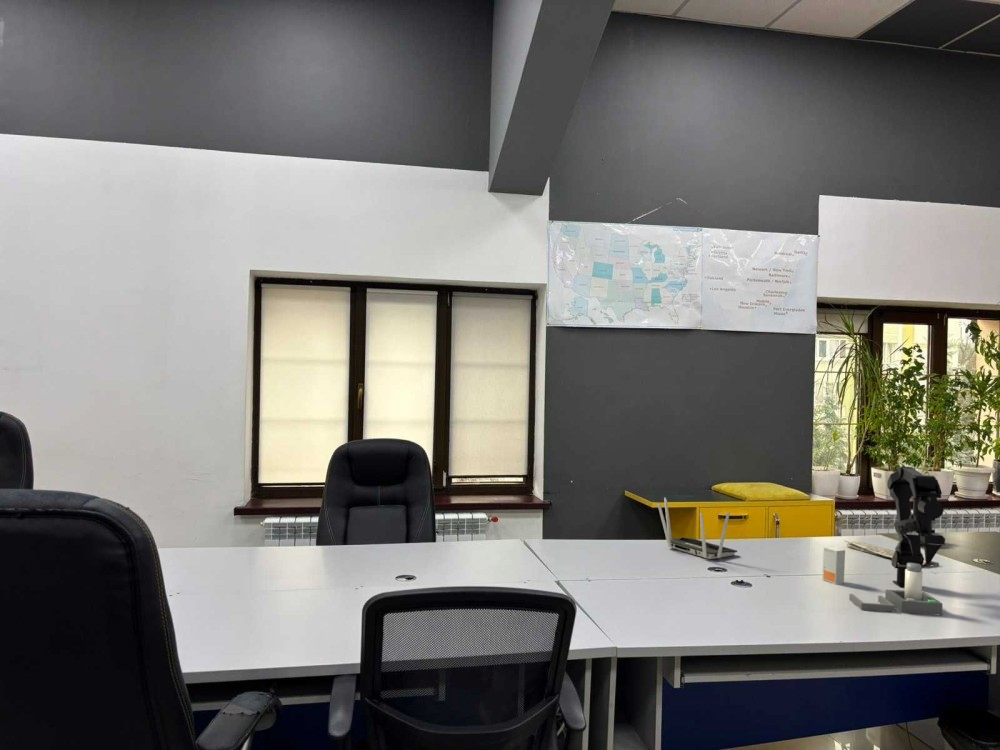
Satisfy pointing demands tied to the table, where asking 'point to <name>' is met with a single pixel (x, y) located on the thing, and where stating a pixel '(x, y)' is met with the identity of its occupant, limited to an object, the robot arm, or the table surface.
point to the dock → (914, 603)
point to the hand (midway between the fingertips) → (921, 559)
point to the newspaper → (878, 551)
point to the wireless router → (696, 545)
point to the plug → (913, 582)
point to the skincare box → (833, 565)
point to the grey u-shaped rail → (873, 604)
